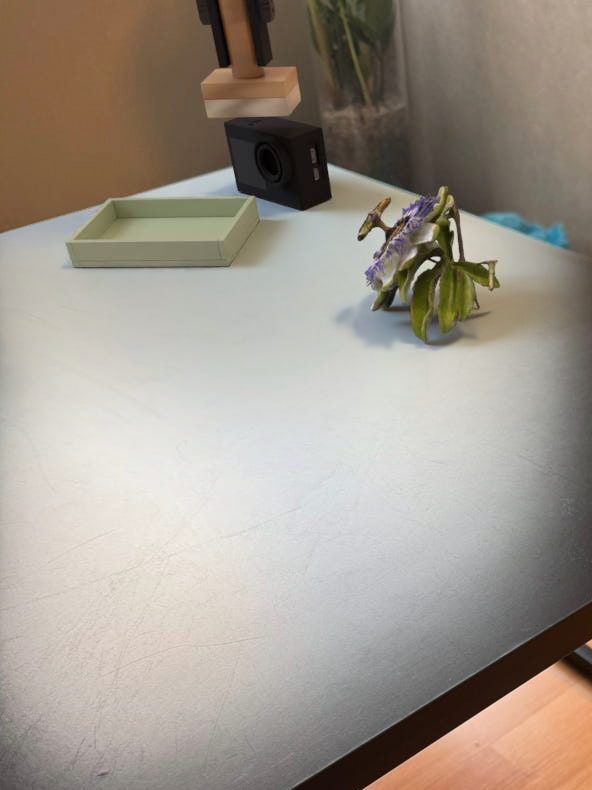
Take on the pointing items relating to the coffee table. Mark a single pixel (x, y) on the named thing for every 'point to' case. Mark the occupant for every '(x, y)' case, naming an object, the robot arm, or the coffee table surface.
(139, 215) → the tray
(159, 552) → the coffee table surface
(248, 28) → the brush
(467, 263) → the passion flower
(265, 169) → the digital camera
